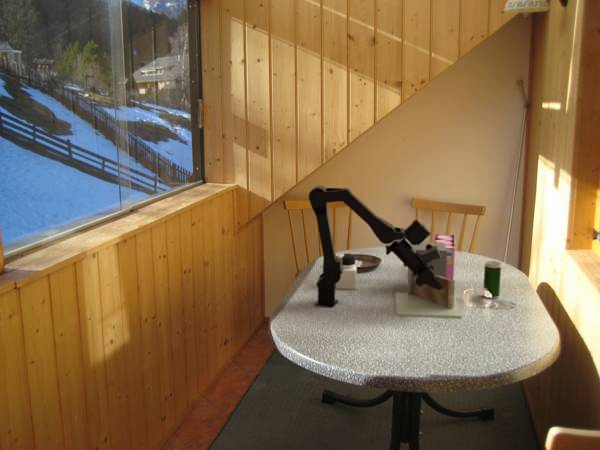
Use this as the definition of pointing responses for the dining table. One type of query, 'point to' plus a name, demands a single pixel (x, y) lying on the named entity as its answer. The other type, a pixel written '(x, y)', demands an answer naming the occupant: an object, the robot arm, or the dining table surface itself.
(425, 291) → the brown wooden flat panel
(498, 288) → the beer can
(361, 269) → the plant saucer
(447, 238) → the gum box
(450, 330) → the dining table surface
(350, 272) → the medicine bottle
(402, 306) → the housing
